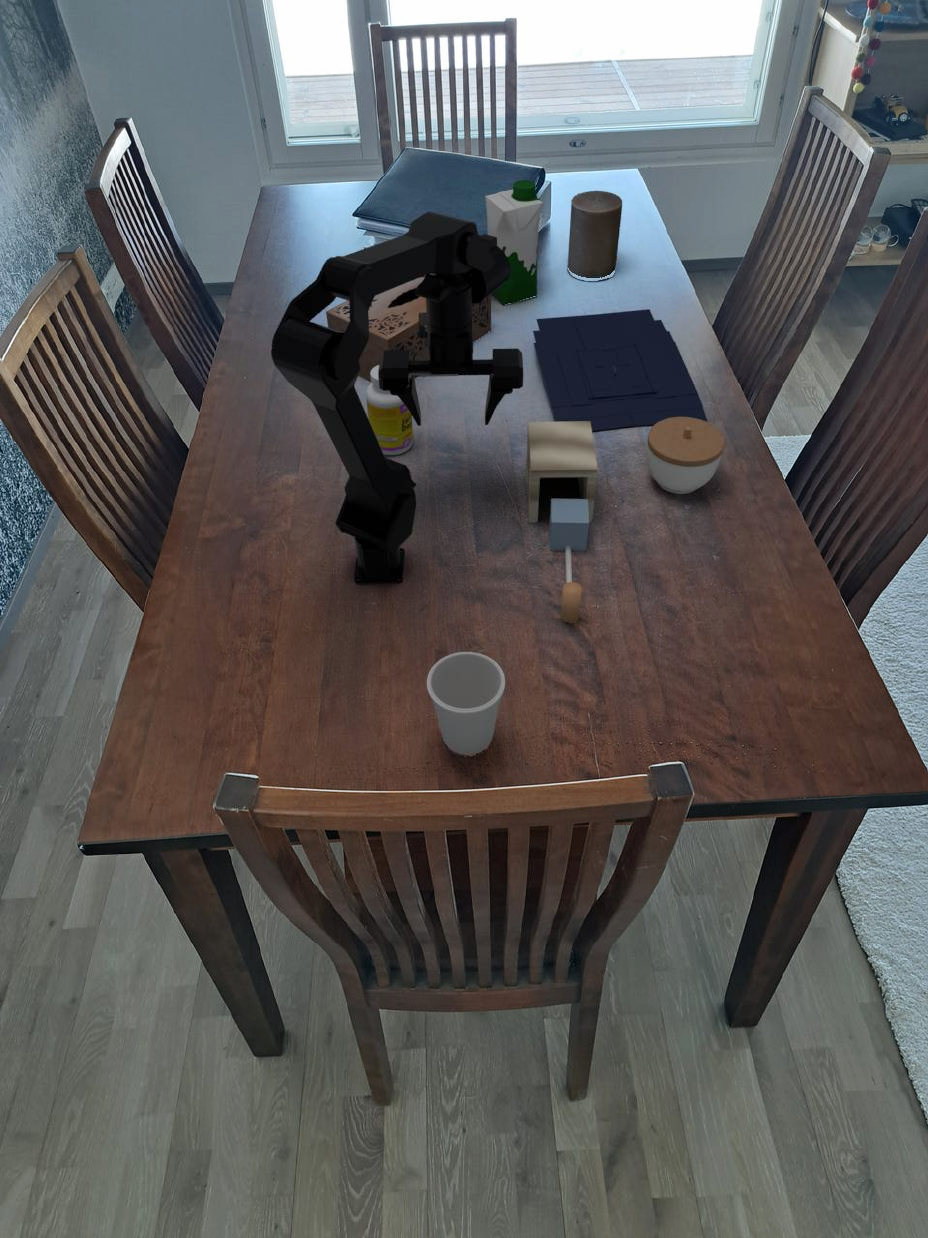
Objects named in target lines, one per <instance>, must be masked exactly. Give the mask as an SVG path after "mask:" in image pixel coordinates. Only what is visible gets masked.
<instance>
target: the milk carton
mask: <svg viewBox="0 0 928 1238" xmlns="http://www.w3.org/2000/svg"><path fill="white" fill-rule="evenodd" d="M512 185H513V187H512V189H510V190H508V189H507V190H502V191H498V192H497V193H493V194H488V195H485V207H486V209H485V210H486V222H487V225H486V226H487V235H490V236H494V237H497V246H498V247H499V248H500V249H501V250H503V252H504V253H505V255H506V257H507V259H508V261H509V264H510V266H511V271H510V276H509V278H508V280H507V281H506V282H505V283H504V284H503V285H501V286H500V287H499V288H498V289H496V290H495V291H494V292H493V293H491V296H493V295H494V296H495V297H496V298H497V299H498V300H499V301H500V302H499V301H498V300H497V299H496V300H497V301H498V302H499V303H500V304H501V305H502V306H504V305H505V304H508V303H513V302H517V301H520V300H523V299H526V298H530V297H533V296H536V295H538V255H539V253H538V252H539V251H538V250H539V230H540V220H541V215H542V209H543V206H544V202H543V201H542V200H541V199H540V197H539V198H538V195H537V194H536V192H537V191H536V188H537V186H536V183H535V182H534V181H532V180H527V179H523V180H517V181H515V182H513V184H512ZM494 296H493V297H494ZM495 297H494V298H495ZM517 303H518V302H517ZM513 304H514V303H513ZM505 306H506V305H505Z"/></svg>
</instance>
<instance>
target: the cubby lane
mask: <svg viewBox="0 0 928 1238" xmlns="http://www.w3.org/2000/svg"><path fill="white" fill-rule="evenodd" d="M526 433H527V436H526V437H527V439H526V460H525V461H526V463H525V464H526V465H525V478H526V480H525V481H526V494H527V495H526V496H527V509H528V510H527V511H528V523H538V522H539V521H538V519H539V504H540V503H539V499H540V484H541V483H540V482H541V481H540V479H577V480H578V490H579V497H580V498H579V499H588V510H589V523H592V522H593V517H594V508H595V499H596V498H595V497H596V496H595V495H596V486H597V480H598V478H597V477H598V463H597V456H596V451H595V450H596V449H595V444H594V436H593V431H592V429H591V422H590V421H568V422H556V421H528V422H527V432H526Z"/></svg>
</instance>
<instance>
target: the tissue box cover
mask: <svg viewBox="0 0 928 1238" xmlns="http://www.w3.org/2000/svg"><path fill="white" fill-rule="evenodd" d="M431 275H432V274H431ZM424 278H425V275H424V276H422V277H419V278H417V279H415V280H412V281H410V282H407V283H405V284H403V285H400V286H398V287H395V288H393V289H391V290H388V291H386V292H383V293H381V294H379V295H376V296H375V297H374V299H373V301H372V303H371V305H370V307H369V310H368V315H369V340H368V342H367V344H366V347H365V349H364V351H363V353H362V355H361V357H360V359H359V364H360V369H361V370H360V373H359V375H358V377H360V378H361V379H364V380H366V381H367V382H370V383H372V382H371V376H370V372H371V370H372V369H373V368H374V367H375V366H378V365H379V362H380V355H381V354H382V353H383V351H384V350H410V354H411V361H427V360H429V352H428V339H420V338H419V313H422V312H426V298H423V297H420V296H417V295H416V294H415V291H416V289H417V287H418V285H419V284H420V283H421V282H422V281H423V280H424ZM325 315H326V322H327V327H328V328H331V329H334V330H337V331H340V332H343V333H345V331H346V329H347V327H348V325H349V322H350V305H349V301H348V300H345V301H344V302H341V303H339V304H337V305H335V306H334V307H331V309H328V310H327V311H325ZM489 331H491V332H492V294H490V295H489V296H488V297H486V298H485V299H484V300H483V301H481V302H479V303H472V332H473V344H474V343H475V342H477V341H478V340H480V339H482V338H483V337H484V335H485V334H487V333H488V332H489ZM488 334H489V333H488ZM488 334H487V335H488ZM482 336H483V337H482ZM485 336H486V335H485ZM481 337H482V338H481ZM479 338H480V339H479ZM476 340H477V341H476ZM417 378H418V377H415V379H417Z"/></svg>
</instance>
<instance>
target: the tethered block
mask: <svg viewBox="0 0 928 1238" xmlns="http://www.w3.org/2000/svg"><path fill="white" fill-rule="evenodd" d="M549 513H550V515H549V551H564V552H565V583H564V585H563V586H562V592H561V593H562V595H561V604H560V605H561V608H560V619H561V621H563V620H564V621H565V622H564V621H563V622H564V623H566V622H575V621H577V620H578V619H579V620H580V614H581V607H582V606H581V604H582V596H583V595H582V594H583V587H582V585H581V584H580V583H578V582H574V581H573V570H572V569H573V564H572V562H573V561H572V552H573V551H575V552H576V551H577V552H587V548H588V547H587V546H588V537H589V529H590V527H589V526H590V522H589V510H588V499H581V498H551V499H550V511H549ZM579 620H578V621H579ZM578 621H577V622H578ZM575 623H576V622H575Z"/></svg>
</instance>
